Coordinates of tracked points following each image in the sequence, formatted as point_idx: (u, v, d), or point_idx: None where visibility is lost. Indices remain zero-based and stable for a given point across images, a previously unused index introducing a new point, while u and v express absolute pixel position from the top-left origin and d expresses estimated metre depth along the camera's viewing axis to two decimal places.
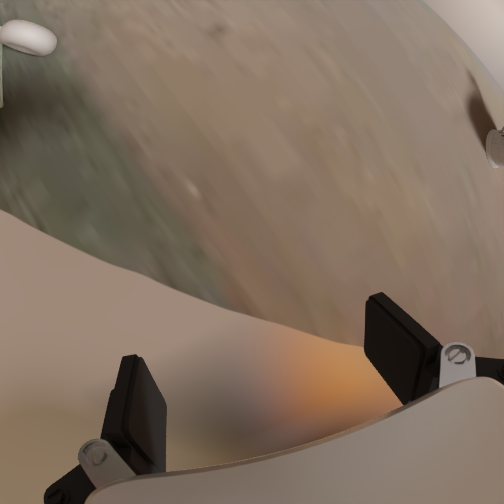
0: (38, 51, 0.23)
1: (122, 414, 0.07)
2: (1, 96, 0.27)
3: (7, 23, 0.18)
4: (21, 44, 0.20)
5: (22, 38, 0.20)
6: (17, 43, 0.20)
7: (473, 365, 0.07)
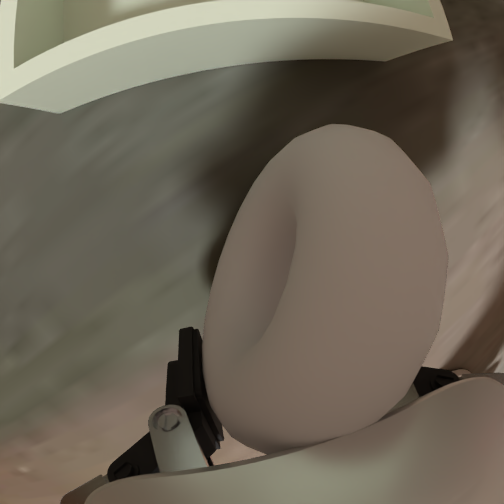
0: None
1: (193, 378, 0.09)
2: (90, 99, 0.10)
3: None
4: (234, 412, 0.06)
5: (263, 445, 0.06)
6: (246, 402, 0.06)
7: None
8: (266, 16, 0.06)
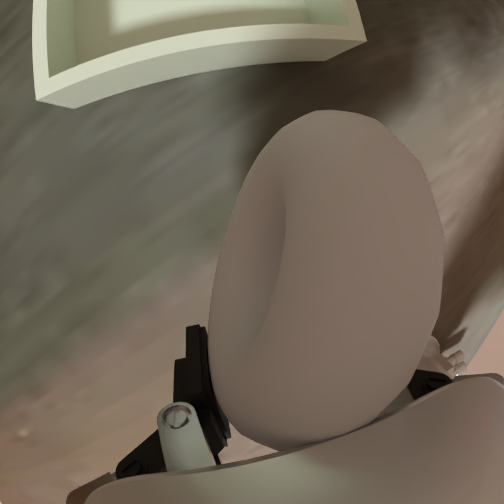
0: (211, 379, 0.09)
1: (201, 375, 0.09)
2: (97, 98, 0.14)
3: None
4: (238, 408, 0.06)
5: (270, 441, 0.06)
6: (248, 398, 0.06)
7: None
8: (216, 43, 0.10)
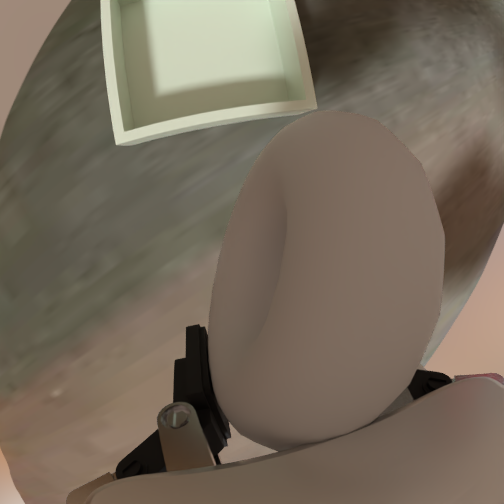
0: (211, 380, 0.09)
1: (201, 375, 0.09)
2: (148, 140, 0.24)
3: (437, 296, 0.04)
4: (239, 409, 0.06)
5: (270, 441, 0.06)
6: (248, 399, 0.06)
7: None
8: (224, 118, 0.20)
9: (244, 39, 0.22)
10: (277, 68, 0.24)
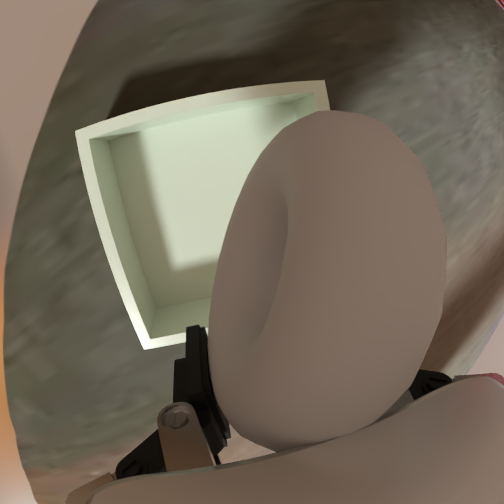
0: (211, 380, 0.09)
1: (201, 375, 0.09)
2: None
3: None
4: (239, 410, 0.06)
5: (270, 443, 0.06)
6: (249, 400, 0.06)
7: None
8: None
9: None
10: None
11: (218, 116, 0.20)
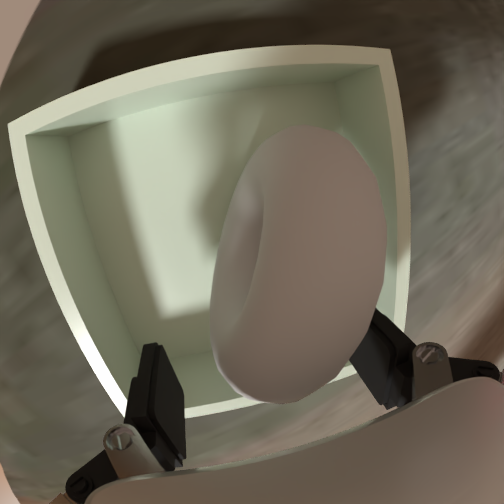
0: (212, 350, 0.11)
1: (147, 398, 0.08)
2: None
3: (377, 267, 0.06)
4: (232, 364, 0.08)
5: (257, 390, 0.08)
6: (238, 352, 0.08)
7: (447, 363, 0.07)
8: None
9: None
10: None
11: (226, 97, 0.13)
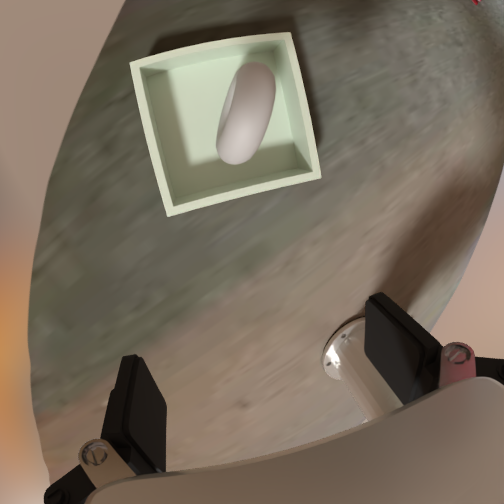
0: (217, 148, 0.25)
1: (122, 414, 0.07)
2: None
3: (268, 89, 0.21)
4: (225, 130, 0.22)
5: (234, 134, 0.22)
6: (227, 122, 0.22)
7: (473, 365, 0.07)
8: (251, 193, 0.28)
9: None
10: (287, 135, 0.31)
11: (222, 60, 0.27)
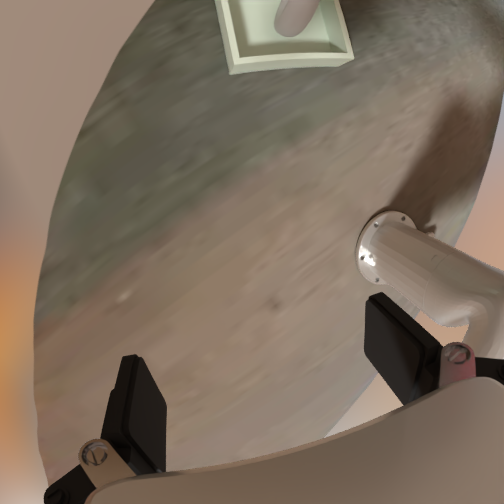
0: (278, 21, 0.27)
1: (122, 414, 0.07)
2: (243, 72, 0.34)
3: None
4: (289, 3, 0.24)
5: (296, 3, 0.24)
6: None
7: (473, 365, 0.07)
8: (302, 58, 0.30)
9: None
10: (324, 37, 0.33)
11: None
